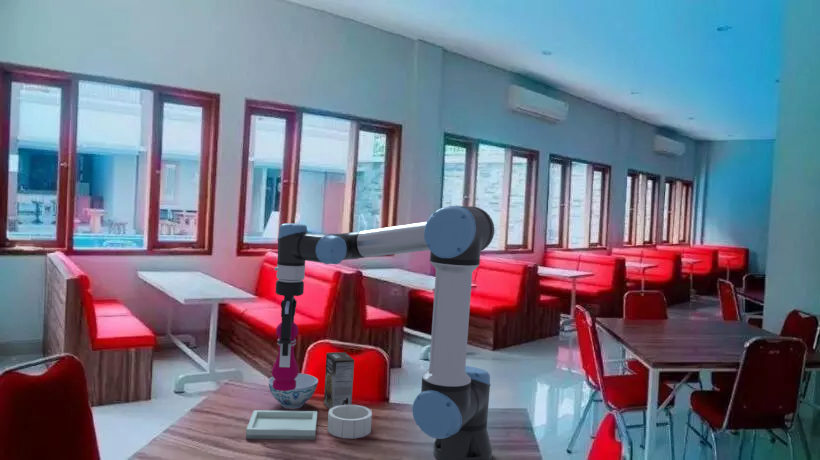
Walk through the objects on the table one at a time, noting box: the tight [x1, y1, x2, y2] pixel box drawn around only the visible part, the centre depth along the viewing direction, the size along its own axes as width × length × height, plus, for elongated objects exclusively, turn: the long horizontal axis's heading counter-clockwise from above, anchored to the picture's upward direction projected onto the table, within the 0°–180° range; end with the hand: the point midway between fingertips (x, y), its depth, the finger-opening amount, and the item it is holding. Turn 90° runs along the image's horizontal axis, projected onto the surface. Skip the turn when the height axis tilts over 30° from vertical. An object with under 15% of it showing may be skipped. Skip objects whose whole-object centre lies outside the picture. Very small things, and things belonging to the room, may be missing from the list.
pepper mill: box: [271, 321, 299, 391], centre depth 166 cm, size 7×7×20 cm
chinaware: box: [267, 372, 319, 410], centre depth 186 cm, size 15×15×8 cm
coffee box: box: [323, 351, 355, 410], centre depth 186 cm, size 9×6×16 cm
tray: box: [245, 409, 318, 440], centre depth 167 cm, size 18×14×2 cm
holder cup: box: [327, 404, 373, 439], centre depth 169 cm, size 12×12×5 cm
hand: (285, 363), depth 166 cm, fingers closed on pepper mill, 6 cm apart
